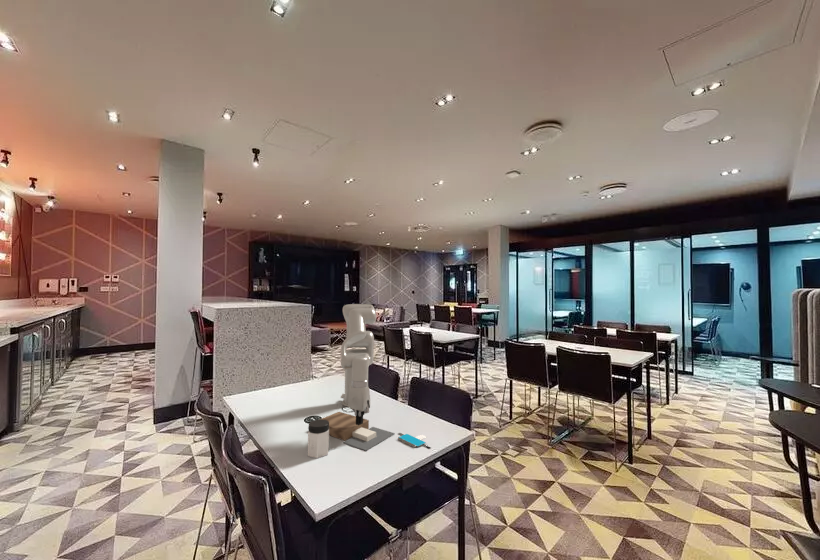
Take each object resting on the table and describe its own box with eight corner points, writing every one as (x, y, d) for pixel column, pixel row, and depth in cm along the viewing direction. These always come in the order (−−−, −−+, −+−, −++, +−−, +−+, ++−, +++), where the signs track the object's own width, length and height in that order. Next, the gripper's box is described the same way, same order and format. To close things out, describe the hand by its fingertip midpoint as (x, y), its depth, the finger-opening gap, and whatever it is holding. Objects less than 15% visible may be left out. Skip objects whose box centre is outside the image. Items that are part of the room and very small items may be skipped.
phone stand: (440, 444, 144) (440, 440, 144) (421, 453, 136) (421, 449, 136) (409, 430, 159) (409, 427, 159) (390, 438, 151) (390, 434, 151)
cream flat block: (352, 436, 150) (352, 431, 150) (361, 431, 155) (361, 427, 155) (367, 441, 145) (367, 436, 145) (376, 436, 150) (376, 432, 150)
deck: (314, 430, 157) (314, 421, 157) (338, 419, 170) (338, 411, 171) (344, 440, 146) (344, 431, 146) (368, 428, 159) (368, 420, 160)
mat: (343, 443, 144) (343, 442, 144) (372, 427, 161) (372, 426, 161) (366, 451, 137) (366, 450, 137) (394, 434, 153) (394, 433, 153)
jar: (302, 455, 133) (303, 425, 133) (315, 446, 140) (316, 417, 141) (321, 459, 130) (321, 428, 130) (333, 450, 137) (334, 421, 138)
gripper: (342, 382, 154) (341, 423, 153) (366, 388, 146) (366, 430, 145) (353, 379, 160) (353, 418, 159) (377, 384, 152) (377, 425, 151)
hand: (359, 424), depth 152 cm, fingers closed
